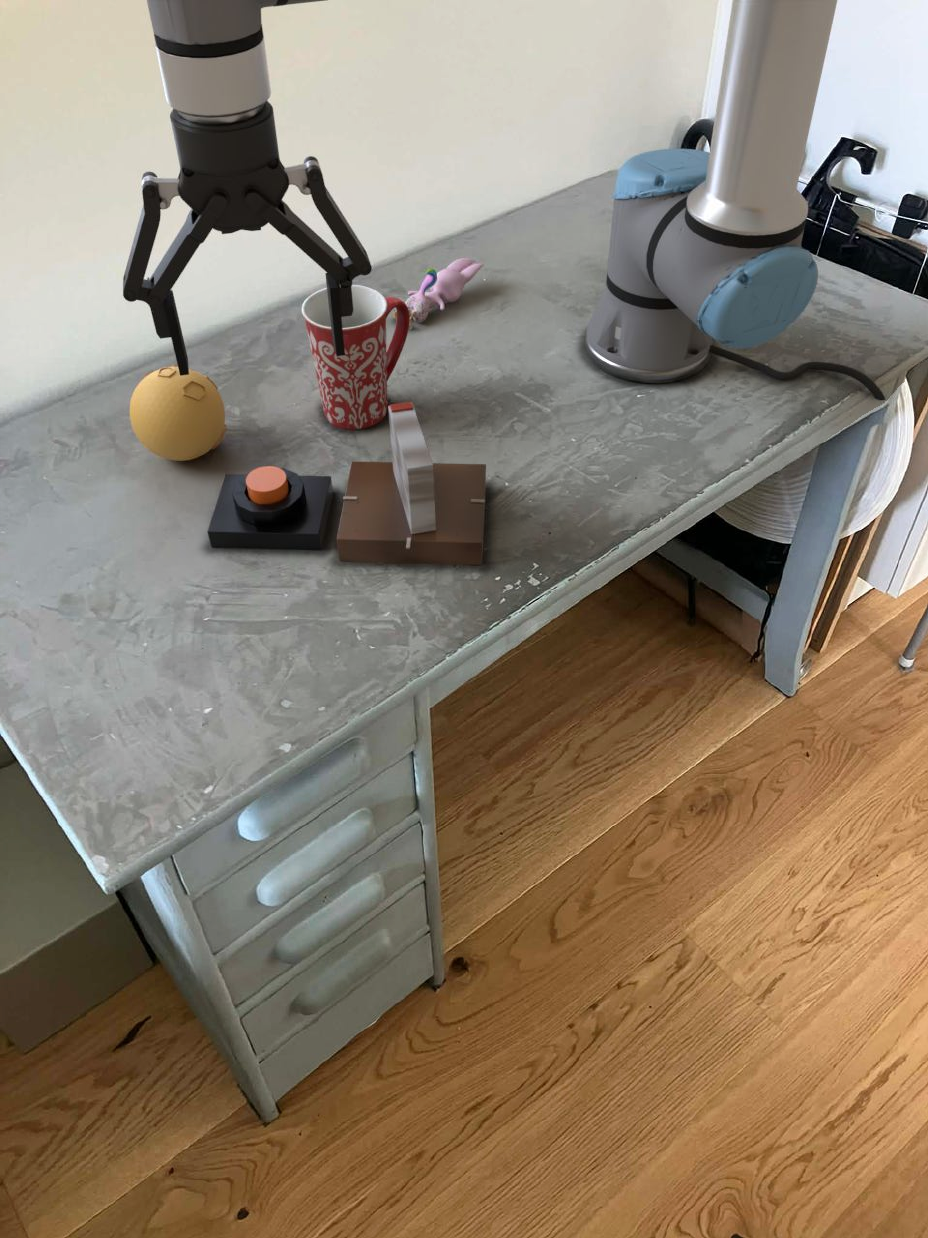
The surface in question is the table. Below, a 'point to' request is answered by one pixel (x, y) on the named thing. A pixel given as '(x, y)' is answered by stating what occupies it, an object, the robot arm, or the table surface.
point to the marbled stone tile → (412, 467)
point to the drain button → (267, 485)
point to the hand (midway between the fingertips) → (262, 357)
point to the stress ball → (177, 414)
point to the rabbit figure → (440, 288)
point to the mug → (355, 355)
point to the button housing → (272, 515)
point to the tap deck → (382, 526)
